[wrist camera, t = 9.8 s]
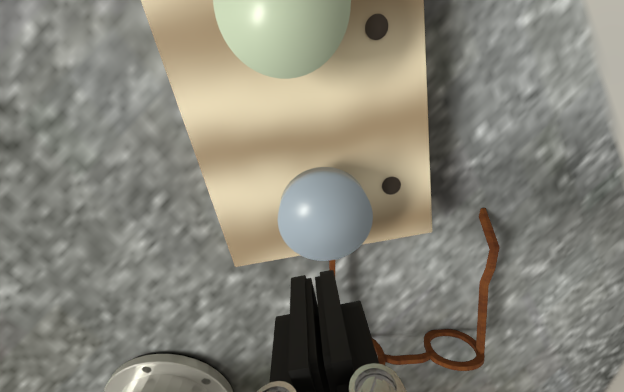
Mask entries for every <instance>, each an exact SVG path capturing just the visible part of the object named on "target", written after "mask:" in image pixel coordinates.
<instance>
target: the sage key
mask: <svg viewBox="0 0 624 392" xmlns="http://www.w3.org/2000/svg"><path fill="white" fill-rule="evenodd" d="M213 5H214V12H215V16H216V20H217V23H218V26H219V29H220V32H221V34H222V36H223V38H224V40H225V41H226V43H227V45H228V46H229V48H230V49H231V50H232V52H233V53H234V54H235V55H236V56H237V57H238V58H239V59H240V60H241V61H242V62H243V63H244V64H245V65H247V66H248V67H249V68H251V69H253V70H254V71H256V72H258V73H261V74H263V75H266V76H269V77H273V78H280V79H290V78H297V77H301V76H304V75H307V74H309V73H311V72H313V71H315V70H316V69H318V68H320V67H321V66H322V65H323V64H324V63H326V62H327V61H328V60H329V59H330V58H331V56H332V55H333V54H334V53H335V51H336V50H337V48H338V47H339V45H340V43H341V41H342V40H343V37H344V35H345V32H346V29H347V26H348V22H349V17H350V10H351V0H213Z"/></svg>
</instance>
